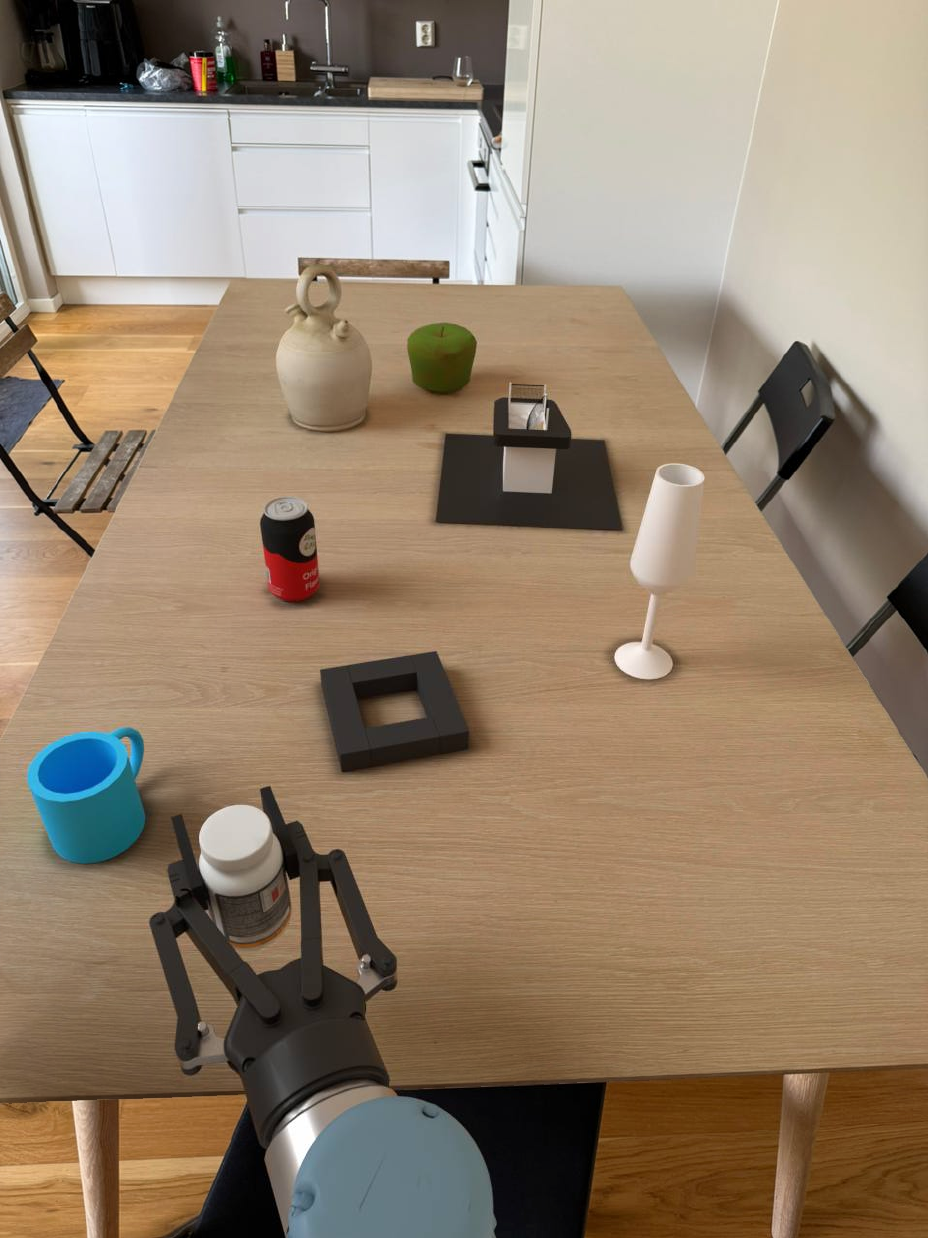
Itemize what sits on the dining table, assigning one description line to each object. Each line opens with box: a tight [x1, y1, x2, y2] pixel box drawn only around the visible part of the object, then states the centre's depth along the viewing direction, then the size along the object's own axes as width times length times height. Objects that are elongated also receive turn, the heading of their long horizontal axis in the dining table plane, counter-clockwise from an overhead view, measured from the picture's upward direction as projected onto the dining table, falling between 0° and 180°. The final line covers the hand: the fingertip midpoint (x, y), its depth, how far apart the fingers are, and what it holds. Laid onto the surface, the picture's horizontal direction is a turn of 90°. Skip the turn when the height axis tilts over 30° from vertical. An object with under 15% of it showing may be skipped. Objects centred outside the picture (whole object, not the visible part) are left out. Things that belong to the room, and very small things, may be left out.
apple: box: [406, 322, 478, 396], centre depth 159 cm, size 12×12×11 cm
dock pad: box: [319, 650, 470, 773], centre depth 93 cm, size 13×13×2 cm
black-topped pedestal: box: [435, 382, 623, 531], centre depth 132 cm, size 28×26×13 cm
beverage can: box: [259, 496, 321, 603], centre depth 108 cm, size 6×6×12 cm
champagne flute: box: [614, 463, 705, 680], centre depth 95 cm, size 7×7×24 cm
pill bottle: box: [198, 804, 293, 952], centre depth 61 cm, size 6×6×10 cm
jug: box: [275, 263, 373, 433], centre depth 143 cm, size 15×16×25 cm
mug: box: [26, 726, 146, 865], centre depth 80 cm, size 12×8×8 cm
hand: (223, 814), depth 64 cm, fingers closed on pill bottle, 6 cm apart
